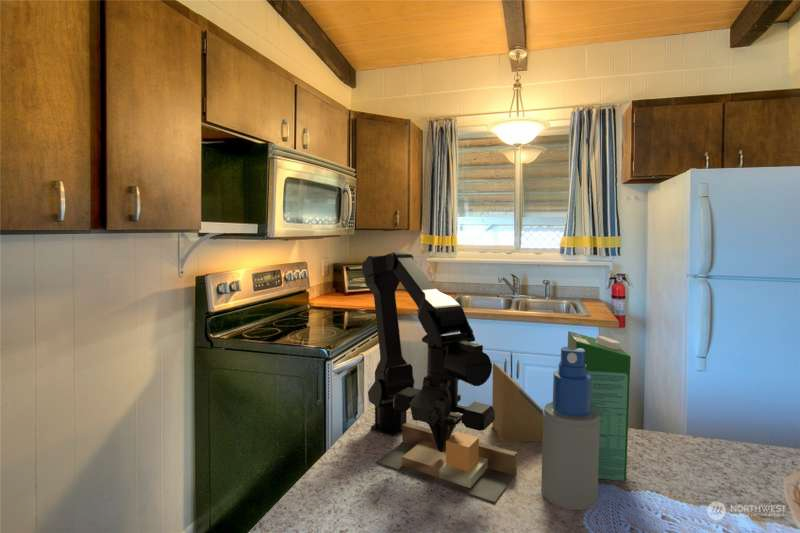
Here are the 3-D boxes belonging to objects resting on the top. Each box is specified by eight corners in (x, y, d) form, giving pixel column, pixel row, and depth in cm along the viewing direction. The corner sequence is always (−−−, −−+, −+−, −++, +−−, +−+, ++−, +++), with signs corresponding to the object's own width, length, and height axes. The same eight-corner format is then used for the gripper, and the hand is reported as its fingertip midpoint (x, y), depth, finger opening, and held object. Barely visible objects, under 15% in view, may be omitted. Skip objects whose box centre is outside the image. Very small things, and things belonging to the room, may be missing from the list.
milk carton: (626, 481, 79) (631, 343, 77) (572, 476, 81) (576, 340, 79) (612, 456, 88) (617, 332, 86) (564, 452, 89) (567, 330, 88)
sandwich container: (572, 440, 95) (574, 372, 94) (502, 442, 94) (503, 373, 93) (556, 423, 103) (557, 360, 102) (491, 425, 103) (492, 361, 101)
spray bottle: (595, 516, 69) (600, 358, 67) (536, 500, 73) (539, 351, 72) (599, 487, 77) (603, 345, 75) (546, 474, 81) (549, 340, 79)
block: (445, 464, 81) (445, 440, 80) (456, 454, 84) (456, 431, 84) (468, 471, 78) (468, 447, 78) (478, 461, 82) (478, 437, 82)
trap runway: (375, 463, 85) (375, 442, 85) (405, 440, 94) (406, 422, 94) (494, 503, 72) (495, 480, 72) (516, 473, 81) (516, 452, 81)
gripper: (376, 372, 81) (376, 455, 82) (471, 392, 70) (469, 487, 72) (408, 358, 90) (408, 433, 91) (496, 374, 80) (495, 458, 81)
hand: (441, 451), depth 83 cm, fingers closed
